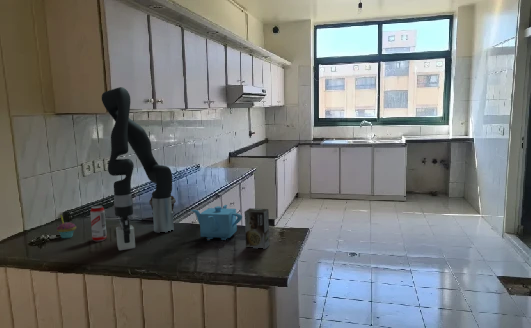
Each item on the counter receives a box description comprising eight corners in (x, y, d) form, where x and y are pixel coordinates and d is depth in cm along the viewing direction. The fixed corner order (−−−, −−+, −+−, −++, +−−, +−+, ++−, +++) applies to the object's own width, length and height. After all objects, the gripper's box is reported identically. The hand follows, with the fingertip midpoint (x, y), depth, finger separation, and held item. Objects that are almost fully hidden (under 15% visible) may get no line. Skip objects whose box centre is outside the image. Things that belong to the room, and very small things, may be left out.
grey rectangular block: (133, 243, 181) (131, 224, 180) (135, 247, 175) (134, 228, 174) (117, 246, 178) (115, 227, 177) (118, 250, 172) (117, 230, 171)
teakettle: (245, 238, 185) (244, 207, 183) (209, 246, 175) (207, 213, 173) (226, 229, 200) (225, 200, 199) (191, 236, 190) (190, 206, 189)
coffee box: (270, 244, 174) (269, 208, 172) (265, 249, 168) (264, 212, 166) (250, 243, 177) (249, 207, 175) (245, 247, 171) (244, 211, 169)
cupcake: (57, 240, 189) (55, 216, 188) (57, 236, 197) (55, 212, 195) (77, 237, 193) (75, 213, 192) (76, 233, 201) (74, 210, 199)
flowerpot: (144, 218, 228) (142, 184, 226) (165, 212, 240) (164, 180, 238) (160, 221, 219) (158, 186, 217) (182, 215, 231) (180, 182, 229)
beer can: (101, 242, 185) (99, 208, 183) (89, 241, 186) (86, 208, 184) (109, 238, 191) (107, 205, 189) (97, 237, 192) (95, 205, 190)
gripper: (134, 206, 170) (137, 243, 172) (130, 200, 182) (132, 234, 184) (116, 208, 167) (118, 246, 168) (112, 202, 179) (115, 237, 181)
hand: (125, 240), depth 176 cm, fingers open, 8 cm apart
